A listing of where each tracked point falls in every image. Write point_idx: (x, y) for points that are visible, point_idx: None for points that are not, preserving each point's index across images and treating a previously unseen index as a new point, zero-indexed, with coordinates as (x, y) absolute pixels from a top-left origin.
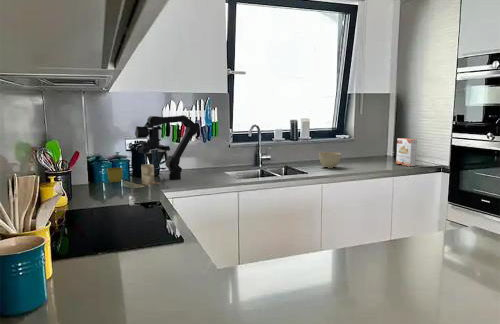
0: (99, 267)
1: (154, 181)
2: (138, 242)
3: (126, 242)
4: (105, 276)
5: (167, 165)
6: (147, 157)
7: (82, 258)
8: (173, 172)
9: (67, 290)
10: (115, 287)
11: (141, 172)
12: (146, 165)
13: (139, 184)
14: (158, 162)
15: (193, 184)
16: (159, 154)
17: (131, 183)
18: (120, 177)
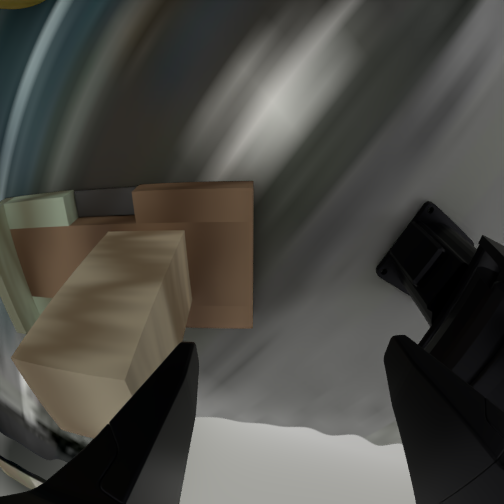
0: (19, 474)
1: (252, 220)
2: (44, 481)
3: (33, 474)
4: (25, 480)
5: (448, 346)
6: (86, 457)
7: (3, 462)
8: (430, 325)
9: (8, 472)
10: (32, 486)
11: (57, 292)
12: (68, 424)
13: (84, 240)
14: (397, 343)
15: (386, 386)
16: (462, 497)
17: (9, 315)
18: (10, 8)
